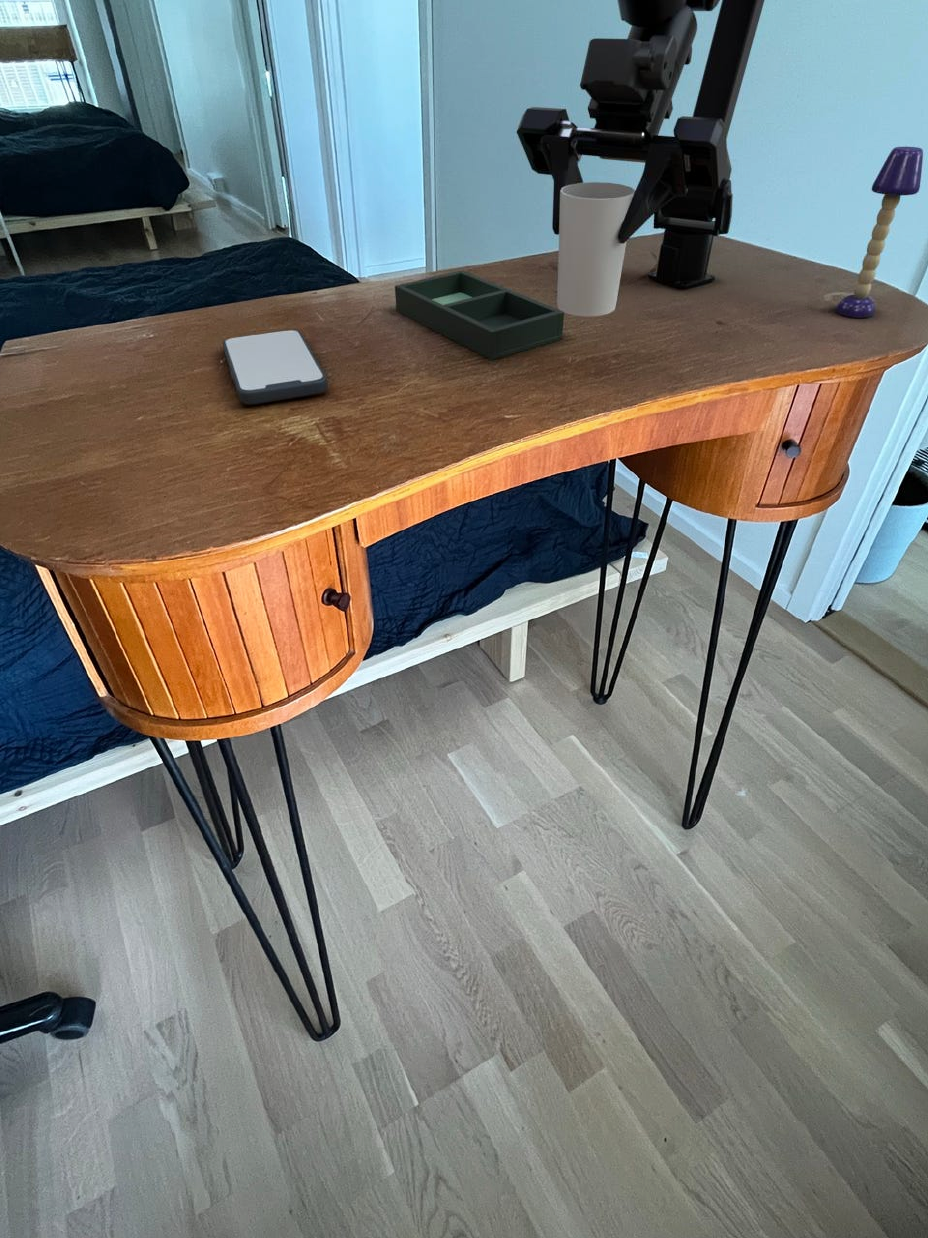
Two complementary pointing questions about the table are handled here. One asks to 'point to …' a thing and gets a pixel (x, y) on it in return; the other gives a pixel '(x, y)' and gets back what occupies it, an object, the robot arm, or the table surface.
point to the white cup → (591, 246)
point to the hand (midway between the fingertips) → (586, 236)
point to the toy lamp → (884, 222)
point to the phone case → (273, 367)
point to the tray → (479, 314)
